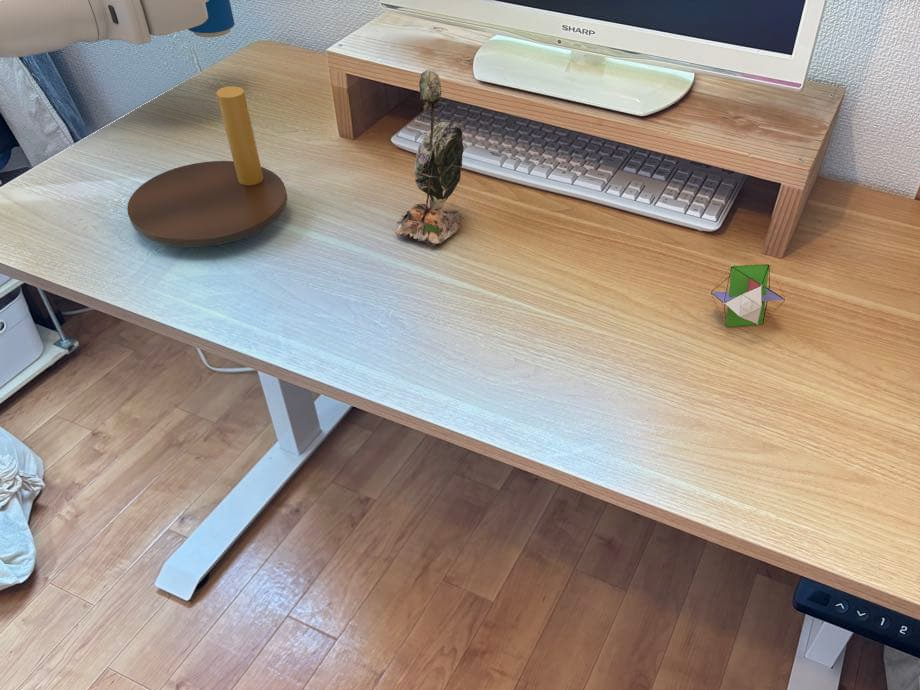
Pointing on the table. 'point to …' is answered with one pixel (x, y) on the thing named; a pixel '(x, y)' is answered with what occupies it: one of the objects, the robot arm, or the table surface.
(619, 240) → the table surface
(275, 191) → the tray
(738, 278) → the geometric puzzle
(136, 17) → the robot arm
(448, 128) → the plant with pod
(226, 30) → the beverage can
